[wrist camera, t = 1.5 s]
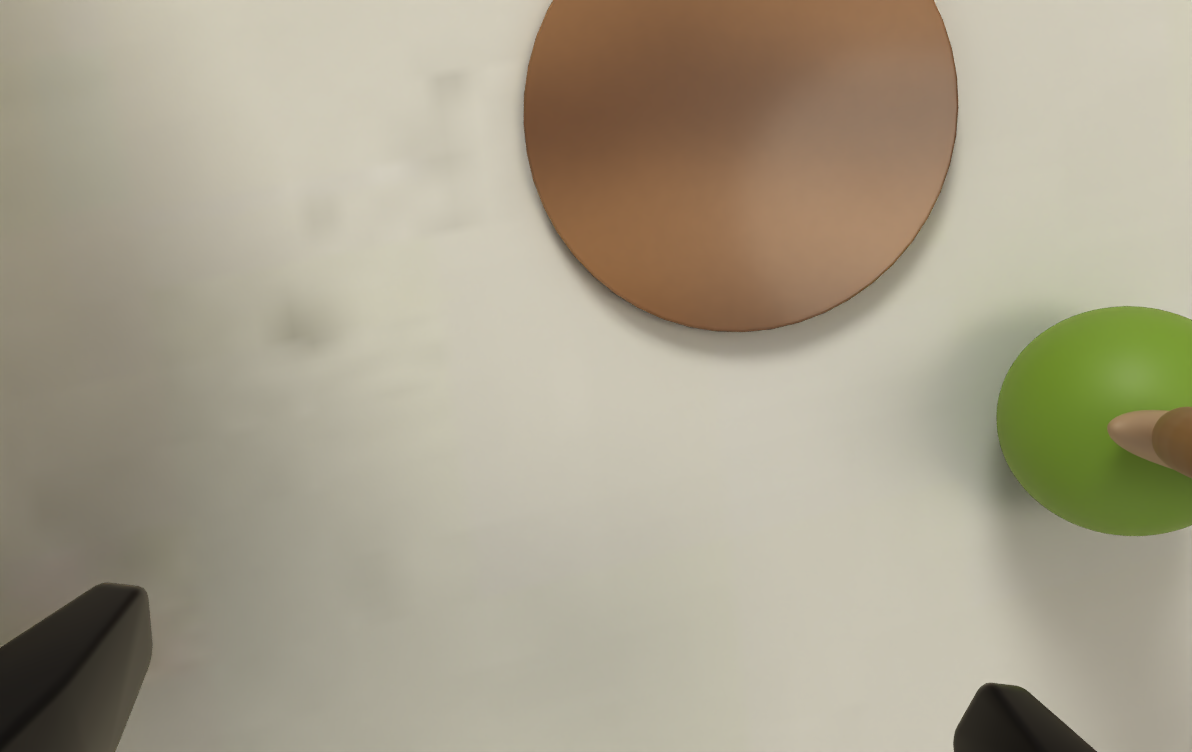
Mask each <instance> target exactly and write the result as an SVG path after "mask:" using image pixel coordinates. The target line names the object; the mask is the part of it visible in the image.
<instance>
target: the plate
mask: <svg viewBox="0 0 1192 752" xmlns="http://www.w3.org/2000/svg"><path fill="white" fill-rule="evenodd" d="M957 117H958V90H957V75H956V69H955V64H954V58H953V52H952V47H951V44H950V41H949V38H948V35H947V32H946V28H945V25H944V22H943V19H942V17H941V15H940V13H939V11H938V9H937V7H936V4H935V2H934V0H553V1H552V3H551V5H550V6H549V8H548V10H547V12H546V15H545V17H544V19H543V22H542V24H541V27H540V29H539V31H538V34H537V36H536V39H535V43H534V47H533V50H532V54H531V57H530V61H529V65H528V71H527V78H526V84H525V91H524V133H525V142H526V151H527V156H528V160H529V164H530V168H531V173H532V177H533V181H534V183H535V186H536V189H537V191H538V194H539V196H540V199H541V202H542V204H543V207H544V209H545V211H546V213H547V215H548V216H549V218H550V220H551V222H552V224H553V226H554V228H555V229H556V231H557V233H558V234H559V236H560V237H561V238H562V240H563V241H564V243H565V244H566V245H567V247H568V248H569V250H570V251H571V252H572V254H573V255H574V256H575V257H576V258H577V259H578V261H579V262H580V263H581V264H582V265H583V266H584V267H585V268H586V269H587V270H588V271H589V272H590V273H591V274H592V275H593V276H594V277H595V278H596V279H597V280H599V281H600V282H601V283H602V284H604V285H605V286H606V287H607V288H608V289H610V290H611V291H612V292H613V293H615V294H616V295H618V296H620V297H621V298H623V299H624V300H626V301H628V302H629V303H631V304H632V305H634V306H636V307H637V308H639V309H642V310H644V311H646V312H648V313H650V314H653V315H655V316H657V317H659V318H662V319H664V320H668V321H671V322H674V323H678V324H681V325H684V326H688V327H693V328H699V329H705V330H711V331H725V332H749V331H759V330H769V329H774V328H779V327H783V326H787V325H791V324H796V323H799V322H802V321H804V320H807V319H810V318H812V317H815V316H818V315H820V314H823V313H825V312H827V311H829V310H831V309H833V308H835V307H837V306H838V305H840V304H842V303H844V302H846V301H848V300H850V299H851V298H852V297H854V296H855V295H857V294H858V293H860V292H861V291H862V290H864V289H865V288H867V287H868V286H869V285H871V284H872V283H873V282H874V281H876V280H877V279H878V278H879V277H880V276H881V275H882V274H883V273H884V272H885V271H887V270H888V269H889V268H890V267H891V266H892V265H893V264H894V263H895V262H896V261H897V259H898V258H899V257H900V256H901V255H902V254H903V252H904V251H905V250H906V249H907V248H908V246H909V245H910V244H911V243H912V242H913V240H914V238H915V237H916V235H917V234H918V232H919V231H920V229H921V228H922V226H923V225H924V223H925V222H926V220H927V219H928V217H929V215H930V213H931V211H932V209H933V207H934V205H935V202H936V200H937V198H938V196H939V194H940V192H941V189H942V186H943V184H944V181H945V178H946V175H947V172H948V169H949V166H950V162H951V157H952V153H953V148H954V143H955V138H956V129H957Z"/></svg>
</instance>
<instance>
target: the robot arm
mask: <svg viewBox="0 0 1192 752" xmlns="http://www.w3.org/2000/svg"><path fill="white" fill-rule="evenodd" d="M152 646H153V645H152V632H151V621H150V611H149V600H148V595H147V592H146V591H145V589H144V588H142V587H140V586H135V585H126V584H117V583H102V584H99V585H96V586H95V587H93V588H91V589H90V590H88V591H87V592H85V593H84V594H82V595H81V596H79V597H77V598H76V599H74V600H73V601H71V602H70V603H68V604H67V605H65V606H64V607H62V608H61V609H59V610H57V611H56V612H54V613H53V614H51V615H50V616H48V617H47V618H45V619H44V620H42V621H41V622H39V623H38V624H36V625H34V626H33V627H31V628H30V629H28V630H27V631H25V632H24V633H22V634H21V635H19V636H18V637H16V638H14V639H13V640H11V641H10V642H8V643H7V644H5V645H4V646H2V647H1V648H0V752H115V751H116V749H117V746H118V744H119V741H120V739H121V736H122V734H123V731H124V728H125V726H126V723H127V721H128V718H129V716H130V713H131V711H132V708H133V705H134V703H135V700H136V698H137V695H138V693H139V690H140V688H141V685H142V682H143V680H144V677H145V675H146V672H147V669H148V667H149V663H150V660H151V655H152ZM953 745H954V752H1097V751H1096V750H1094V749H1093V748H1092V747H1091V746H1090V745H1089V744H1088V743H1086V742H1085V741H1084V740H1083V739H1082V738H1081V737H1080V736H1078V735H1077V734H1076V733H1075V732H1074V731H1073V730H1072V729H1070V728H1069V727H1068V726H1067V725H1066V724H1065V723H1064V722H1062V721H1061V720H1060V719H1059V718H1058V717H1057V716H1056V715H1054V714H1053V713H1052V712H1051V711H1050V710H1049V709H1048V708H1046V707H1045V706H1044V705H1043V704H1042V703H1041V702H1040V701H1038V700H1037V699H1036V698H1035V697H1034V696H1033V695H1032V694H1030V693H1029V692H1028V691H1027V690H1025V689H1023V688H1022V687H1019V686H1014V685H1005V684H997V683H986V684H984V685H983V686H981V687H980V688H979V689H978V691H977V693H976V694H975V696H974V698H973V700H972V701H971V703H970V705H969V707H968V708H967V710H966V712H965V714H964V715H963V717H962V719H961V721H960V722H959V724H958V726H957V728H956V731H955V735H954V742H953Z"/></svg>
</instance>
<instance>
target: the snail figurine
mask: <svg viewBox="0 0 1192 752" xmlns="http://www.w3.org/2000/svg"><path fill="white" fill-rule="evenodd" d="M997 432H998V438H999V442H1000V446H1001V449H1002V452H1003V455H1004V457H1005V459H1006V462H1007V464H1008V466H1009V468H1010V469H1011V471H1012V473H1013V474H1014V476H1015V477H1016V479H1017V480H1018V481H1019V483H1020V484H1021V485H1022V486H1023V488H1024V489H1025V490H1026V491H1027V492H1028V493H1029V494H1030V495H1031V496H1032V497H1033V498H1034V499H1035V500H1036V501H1038V502H1039V503H1040V504H1041V505H1042V506H1044V507H1045V508H1047V509H1048V510H1049V511H1051V512H1052V513H1054V514H1056V515H1057V516H1059V517H1061V518H1063V519H1065V520H1067V521H1069V522H1071V523H1073V524H1076V525H1078V526H1081V527H1084V528H1087V529H1090V530H1093V531H1097V532H1101V533H1106V534H1113V535H1122V536H1148V535H1157V534H1163V533H1168V532H1172V531H1176V530H1179V529H1183V528H1186V527H1188V526H1191V525H1192V320H1190V319H1188V318H1186V317H1183V316H1180V315H1178V314H1174V313H1171V312H1167V311H1164V310H1159V309H1154V308H1146V307H1133V306H1122V307H1109V308H1102V309H1097V310H1092V311H1088V312H1084V313H1081V314H1078V315H1075V316H1073V317H1070V318H1068V319H1065V320H1063V321H1061V322H1059V323H1057V324H1056V325H1054V326H1052V327H1050V328H1049V329H1047V330H1046V331H1044V332H1043V333H1042V334H1040V335H1039V336H1038V337H1036V338H1035V339H1034V340H1033V341H1032V342H1031V343H1030V344H1029V345H1028V346H1027V347H1026V348H1025V349H1024V350H1023V351H1022V352H1021V353H1020V355H1019V356H1018V357H1017V358H1016V360H1015V361H1014V363H1013V364H1012V366H1011V368H1010V369H1009V371H1008V373H1007V375H1006V377H1005V379H1004V382H1003V384H1002V387H1001V391H1000V394H999V399H998V404H997Z"/></svg>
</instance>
